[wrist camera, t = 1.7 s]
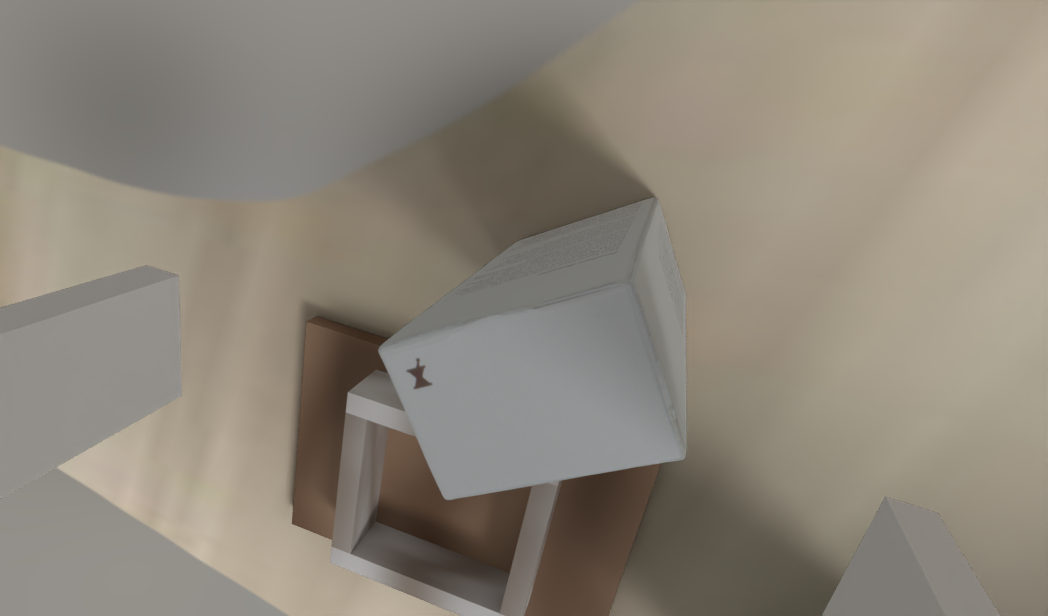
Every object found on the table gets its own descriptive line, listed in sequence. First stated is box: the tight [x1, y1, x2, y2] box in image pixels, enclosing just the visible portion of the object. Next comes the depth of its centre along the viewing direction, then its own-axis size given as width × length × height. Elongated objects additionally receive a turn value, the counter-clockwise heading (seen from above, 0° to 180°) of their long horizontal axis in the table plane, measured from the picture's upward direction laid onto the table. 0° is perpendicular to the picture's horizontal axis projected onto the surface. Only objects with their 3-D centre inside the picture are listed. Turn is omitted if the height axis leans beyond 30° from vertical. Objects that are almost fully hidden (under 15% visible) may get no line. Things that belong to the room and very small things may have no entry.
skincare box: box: [378, 197, 687, 500], centre depth 18 cm, size 6×4×12 cm
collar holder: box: [292, 316, 661, 616], centre depth 27 cm, size 17×12×3 cm
